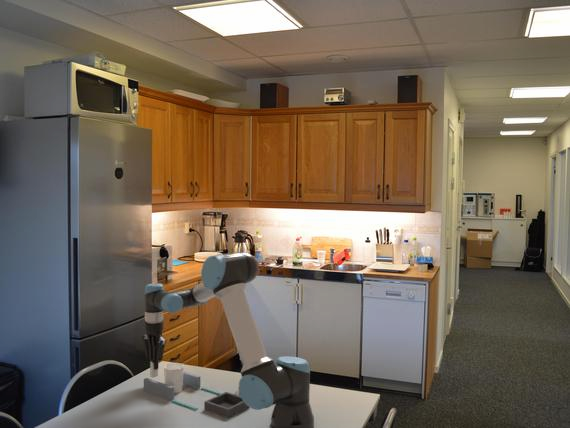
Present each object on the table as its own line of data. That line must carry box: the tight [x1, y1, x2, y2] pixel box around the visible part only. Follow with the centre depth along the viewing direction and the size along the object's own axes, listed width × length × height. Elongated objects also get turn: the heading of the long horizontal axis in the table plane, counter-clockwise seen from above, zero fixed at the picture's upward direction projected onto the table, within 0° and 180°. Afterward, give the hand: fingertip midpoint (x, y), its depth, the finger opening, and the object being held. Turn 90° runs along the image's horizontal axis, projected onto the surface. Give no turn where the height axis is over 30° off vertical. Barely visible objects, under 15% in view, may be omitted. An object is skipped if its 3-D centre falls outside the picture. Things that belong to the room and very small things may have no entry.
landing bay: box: [171, 386, 222, 411], centre depth 206 cm, size 13×17×1 cm
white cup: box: [163, 362, 185, 394], centre depth 214 cm, size 8×8×10 cm
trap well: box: [203, 391, 250, 419], centre depth 198 cm, size 12×12×3 cm
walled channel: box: [143, 371, 201, 402], centre depth 215 cm, size 16×16×5 cm
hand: (154, 376), depth 222 cm, fingers closed
